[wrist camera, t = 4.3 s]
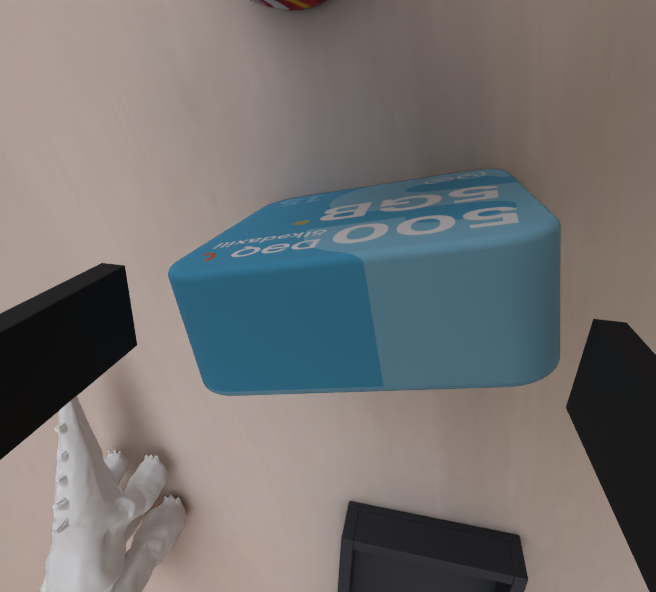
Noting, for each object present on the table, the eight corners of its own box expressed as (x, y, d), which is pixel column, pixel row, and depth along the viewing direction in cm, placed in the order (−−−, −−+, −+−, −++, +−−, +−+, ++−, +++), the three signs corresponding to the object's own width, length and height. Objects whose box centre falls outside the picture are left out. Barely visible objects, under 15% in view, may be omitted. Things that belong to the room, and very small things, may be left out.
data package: (504, 164, 21) (576, 228, 11) (507, 254, 23) (574, 389, 12) (271, 200, 25) (144, 278, 14) (288, 277, 26) (187, 400, 15)
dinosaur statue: (139, 565, 41) (44, 715, 31) (67, 329, 31) (-104, 435, 21) (209, 577, 39) (132, 740, 29) (154, 334, 30) (14, 451, 20)
